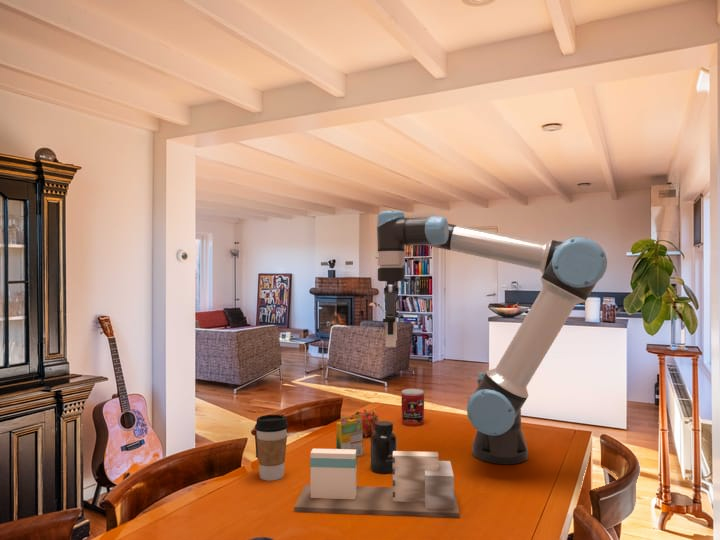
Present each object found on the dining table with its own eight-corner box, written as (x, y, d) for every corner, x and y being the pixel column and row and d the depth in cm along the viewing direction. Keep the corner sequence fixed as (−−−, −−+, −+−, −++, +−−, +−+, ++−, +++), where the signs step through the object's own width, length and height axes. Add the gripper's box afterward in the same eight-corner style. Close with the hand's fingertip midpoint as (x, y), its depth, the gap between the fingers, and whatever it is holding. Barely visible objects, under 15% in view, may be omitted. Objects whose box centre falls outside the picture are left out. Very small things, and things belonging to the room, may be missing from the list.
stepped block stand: (454, 493, 119) (453, 445, 119) (459, 517, 107) (459, 464, 107) (305, 488, 122) (305, 442, 123) (294, 511, 111) (293, 460, 111)
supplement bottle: (394, 475, 131) (394, 427, 131) (368, 473, 132) (368, 426, 132) (398, 465, 137) (398, 420, 138) (373, 463, 139) (372, 418, 139)
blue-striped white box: (356, 493, 117) (356, 449, 117) (355, 499, 114) (355, 454, 114) (312, 492, 118) (312, 448, 118) (310, 498, 115) (310, 452, 115)
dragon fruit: (382, 437, 166) (349, 449, 160) (368, 417, 172) (337, 428, 166) (387, 420, 161) (354, 432, 155) (374, 400, 167) (341, 411, 161)
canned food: (400, 426, 174) (400, 393, 174) (402, 419, 181) (402, 388, 182) (423, 427, 172) (423, 394, 172) (424, 420, 180) (424, 388, 180)
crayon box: (357, 452, 148) (357, 411, 148) (363, 455, 145) (363, 413, 146) (335, 457, 144) (335, 415, 144) (341, 460, 141) (341, 418, 142)
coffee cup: (260, 485, 125) (260, 423, 125) (250, 473, 132) (250, 414, 132) (293, 478, 129) (293, 418, 129) (282, 467, 136) (282, 410, 136)
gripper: (379, 267, 156) (380, 338, 156) (374, 266, 131) (375, 349, 131) (404, 267, 155) (405, 338, 155) (404, 266, 130) (404, 350, 130)
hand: (391, 343), depth 143 cm, fingers open, 13 cm apart
